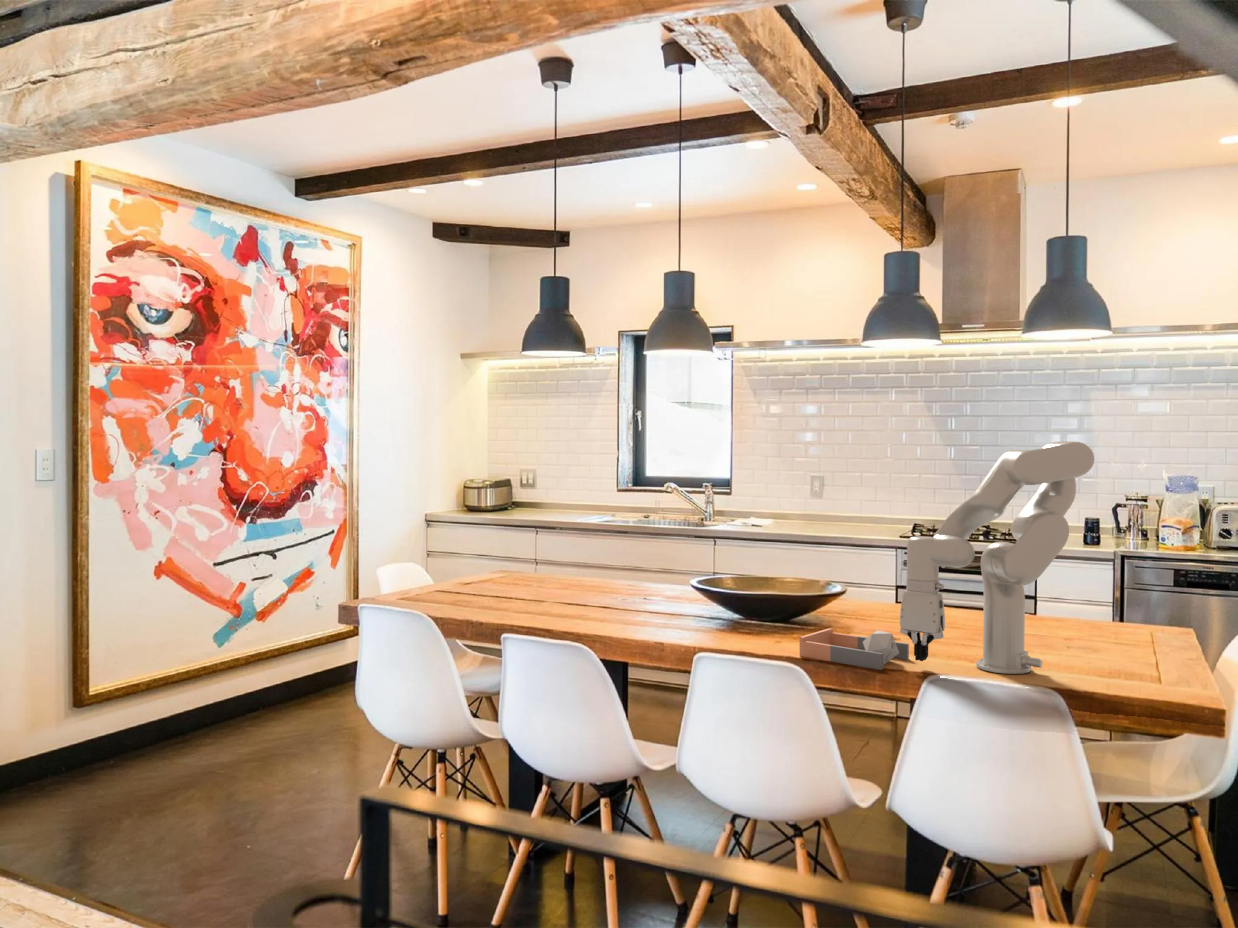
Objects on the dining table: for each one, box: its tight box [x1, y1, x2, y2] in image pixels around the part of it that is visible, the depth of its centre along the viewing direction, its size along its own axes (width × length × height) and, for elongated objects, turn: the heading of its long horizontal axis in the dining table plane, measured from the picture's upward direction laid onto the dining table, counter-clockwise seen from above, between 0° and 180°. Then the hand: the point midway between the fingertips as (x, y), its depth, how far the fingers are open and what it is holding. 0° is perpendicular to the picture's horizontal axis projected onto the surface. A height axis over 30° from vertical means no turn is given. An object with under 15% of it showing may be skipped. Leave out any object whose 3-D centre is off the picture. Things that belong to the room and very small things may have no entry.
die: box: [863, 630, 899, 666], centre depth 234 cm, size 8×9×10 cm
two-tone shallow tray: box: [799, 627, 910, 671], centre depth 239 cm, size 23×16×5 cm
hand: (920, 659), depth 226 cm, fingers closed
